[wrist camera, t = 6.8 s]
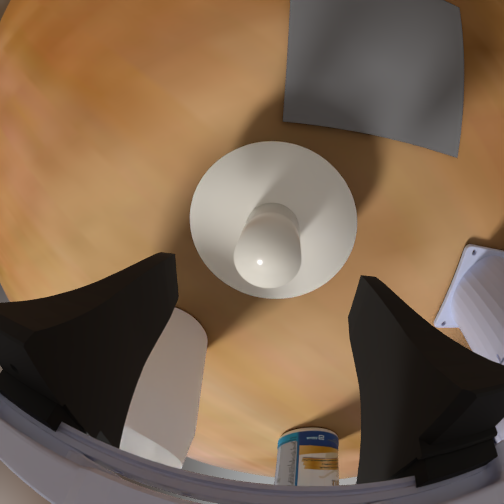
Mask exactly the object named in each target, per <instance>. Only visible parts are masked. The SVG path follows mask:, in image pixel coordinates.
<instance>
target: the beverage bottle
mask: <svg viewBox="0 0 504 504" xmlns="http://www.w3.org/2000/svg"><path fill="white" fill-rule="evenodd" d="M338 445H339V442H338V436H337V435H336V433H334V432H333V431H331V430H328V429H324V428H314V427H310V428H300V429H295V430H291V431H289V432H286V433H284V434H283V435H282V436H281V437H280V438H279V440H278V454H277V464H276V473H275V482H274V485H286V486H339V469H338Z"/></svg>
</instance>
